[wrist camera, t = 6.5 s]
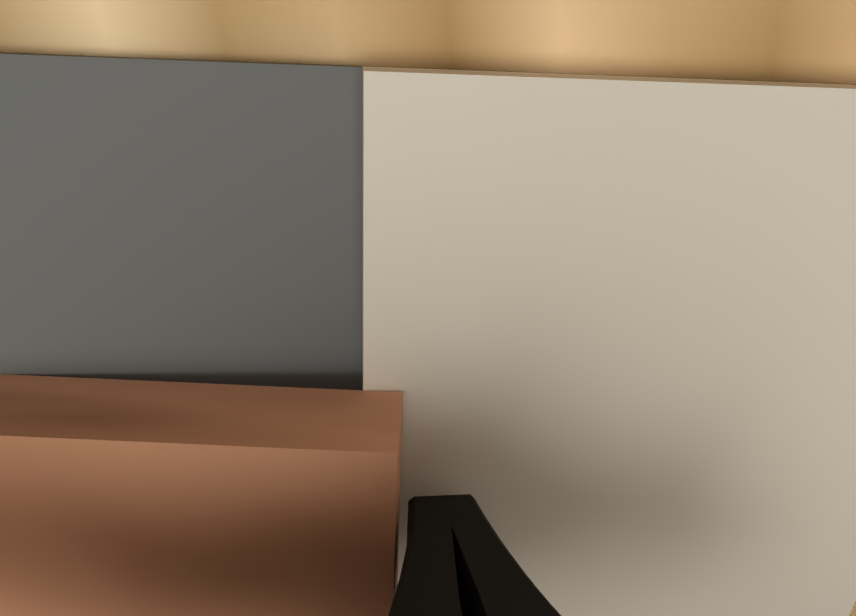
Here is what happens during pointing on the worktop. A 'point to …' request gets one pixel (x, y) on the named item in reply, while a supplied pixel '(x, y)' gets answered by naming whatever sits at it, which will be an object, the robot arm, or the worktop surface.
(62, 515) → the block
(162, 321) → the mat
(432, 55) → the worktop surface
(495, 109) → the board
